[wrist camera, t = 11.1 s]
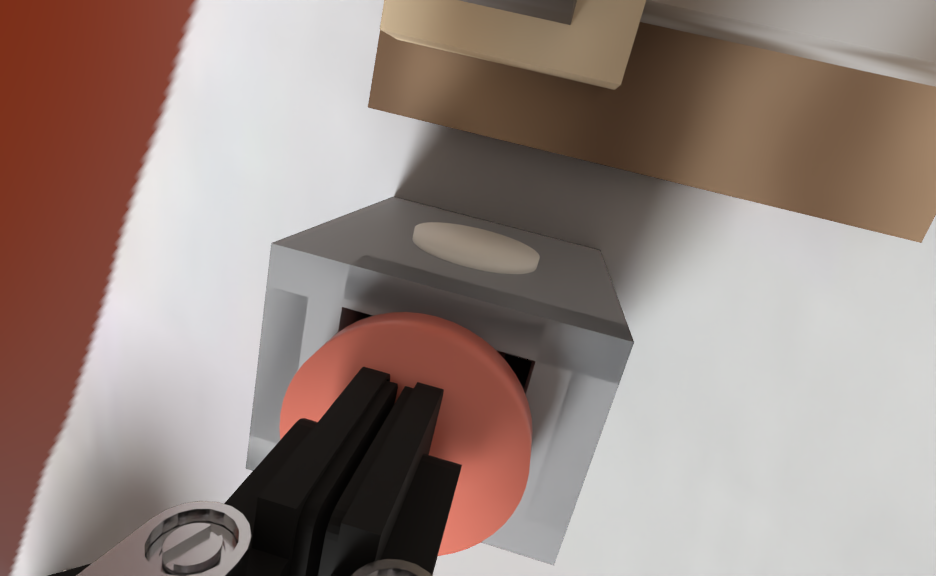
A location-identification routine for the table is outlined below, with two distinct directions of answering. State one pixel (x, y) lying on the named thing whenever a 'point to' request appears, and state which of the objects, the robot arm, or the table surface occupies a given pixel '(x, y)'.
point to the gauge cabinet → (471, 306)
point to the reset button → (460, 416)
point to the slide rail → (723, 104)
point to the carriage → (526, 33)
